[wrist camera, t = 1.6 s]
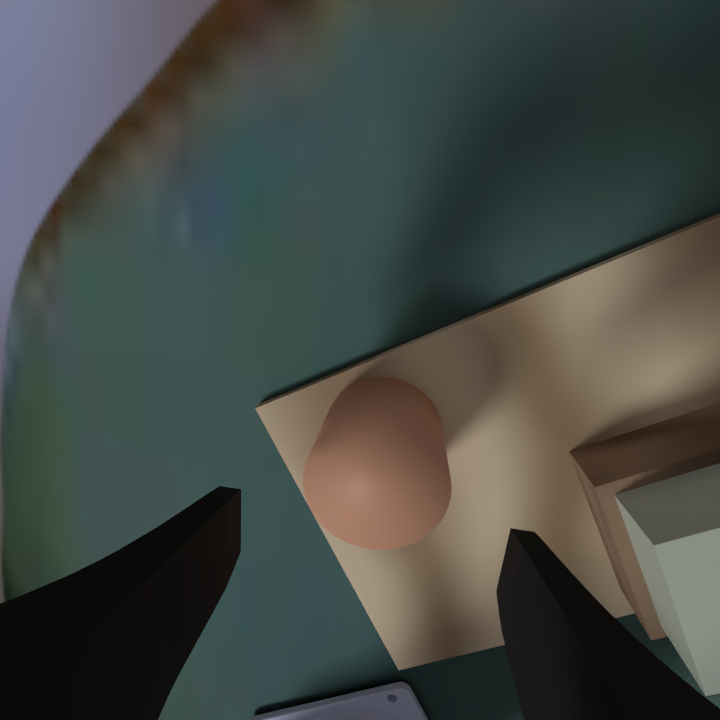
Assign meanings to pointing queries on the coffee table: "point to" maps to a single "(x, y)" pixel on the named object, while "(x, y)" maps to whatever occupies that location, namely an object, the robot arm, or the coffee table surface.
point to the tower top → (682, 563)
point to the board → (525, 430)
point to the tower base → (636, 469)
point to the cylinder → (379, 466)
